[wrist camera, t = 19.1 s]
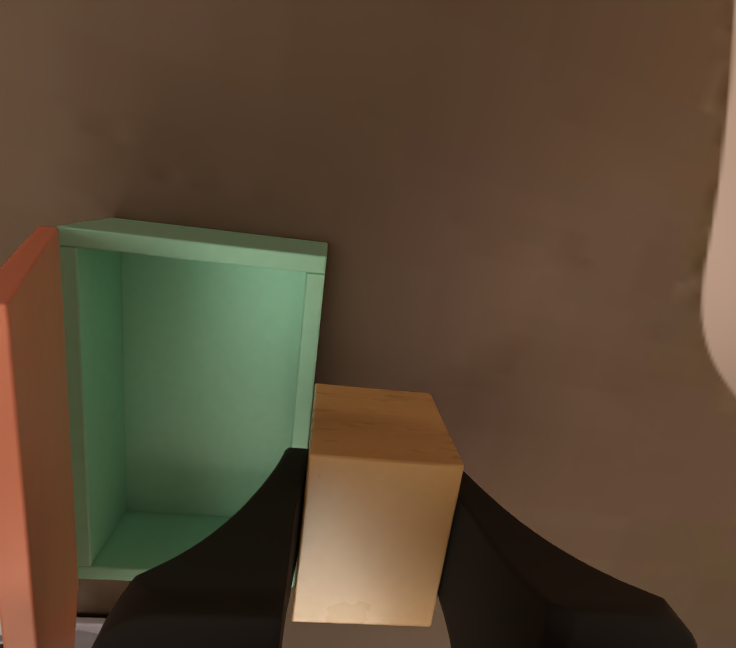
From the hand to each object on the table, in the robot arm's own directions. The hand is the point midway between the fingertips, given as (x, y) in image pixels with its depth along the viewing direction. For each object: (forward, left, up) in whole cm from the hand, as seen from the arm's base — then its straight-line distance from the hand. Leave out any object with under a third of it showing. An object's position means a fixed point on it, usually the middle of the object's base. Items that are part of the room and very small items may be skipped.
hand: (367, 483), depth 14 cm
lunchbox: (-1, +6, -7) cm, 9 cm away
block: (0, 0, -1) cm, 1 cm away
